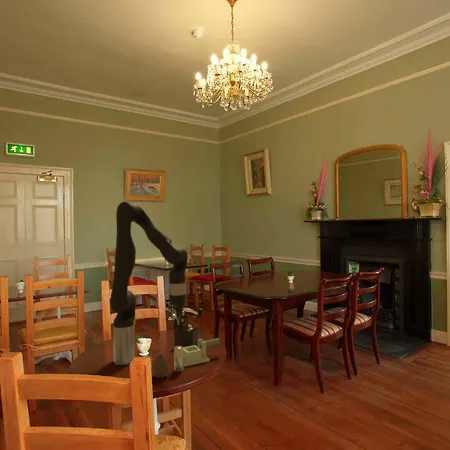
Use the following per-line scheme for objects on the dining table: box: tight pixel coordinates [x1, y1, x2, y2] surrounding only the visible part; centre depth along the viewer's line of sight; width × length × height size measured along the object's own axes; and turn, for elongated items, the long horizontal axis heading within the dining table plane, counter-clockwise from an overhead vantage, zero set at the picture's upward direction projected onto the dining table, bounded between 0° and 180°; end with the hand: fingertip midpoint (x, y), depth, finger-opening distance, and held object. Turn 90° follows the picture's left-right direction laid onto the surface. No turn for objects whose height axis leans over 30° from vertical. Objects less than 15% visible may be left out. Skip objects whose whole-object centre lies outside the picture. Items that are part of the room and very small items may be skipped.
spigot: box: [173, 346, 184, 373], centre depth 159 cm, size 4×4×10 cm
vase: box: [151, 354, 170, 379], centre depth 153 cm, size 7×7×9 cm
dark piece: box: [173, 308, 205, 348], centre depth 192 cm, size 16×11×18 cm
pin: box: [199, 338, 220, 347], centre depth 174 cm, size 10×2×2 cm, turn 118°
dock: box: [183, 338, 211, 368], centre depth 170 cm, size 13×10×8 cm
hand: (178, 330), depth 159 cm, fingers open, 5 cm apart
